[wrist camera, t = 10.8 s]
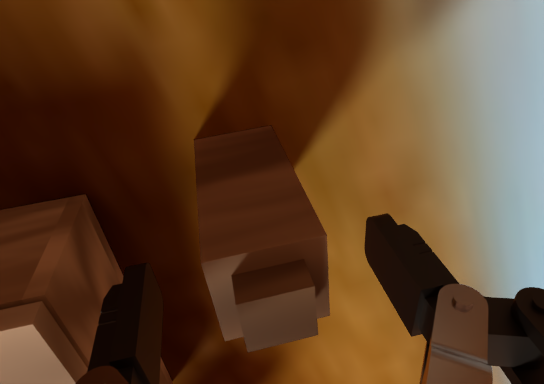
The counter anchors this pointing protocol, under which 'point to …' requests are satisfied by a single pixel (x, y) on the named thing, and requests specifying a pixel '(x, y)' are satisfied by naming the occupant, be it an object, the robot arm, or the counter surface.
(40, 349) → the lid
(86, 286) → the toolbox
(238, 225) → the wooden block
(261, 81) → the counter surface
